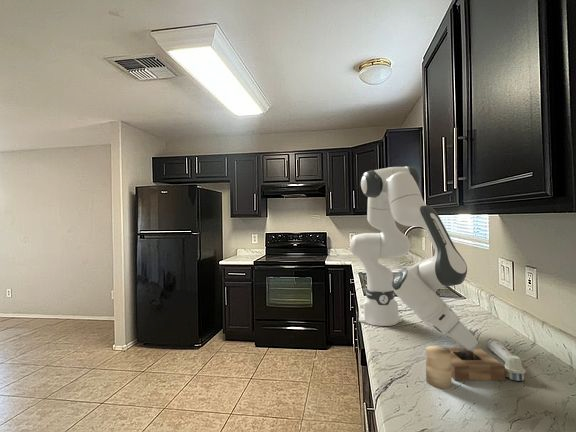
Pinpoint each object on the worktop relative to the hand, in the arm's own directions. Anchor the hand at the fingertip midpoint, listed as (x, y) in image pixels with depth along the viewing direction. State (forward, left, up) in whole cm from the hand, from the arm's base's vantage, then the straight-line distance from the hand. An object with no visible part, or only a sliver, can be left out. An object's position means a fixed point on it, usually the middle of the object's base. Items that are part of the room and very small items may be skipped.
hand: (469, 346), depth 103 cm
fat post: (+8, -13, -7) cm, 17 cm away
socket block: (0, -1, -7) cm, 7 cm away
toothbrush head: (-4, +13, -7) cm, 15 cm away
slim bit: (0, -1, -5) cm, 5 cm away
